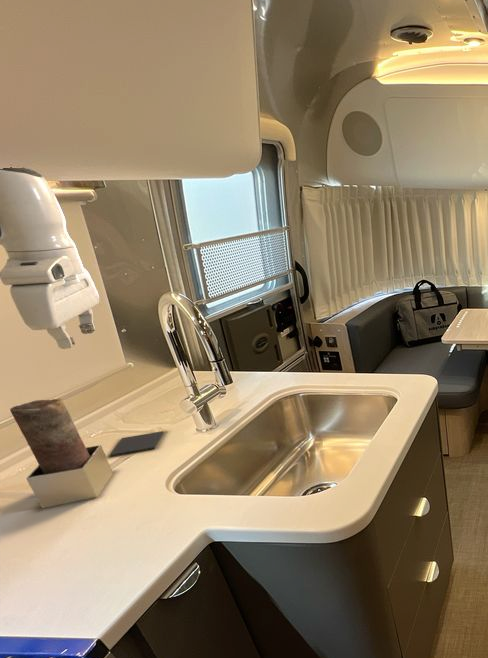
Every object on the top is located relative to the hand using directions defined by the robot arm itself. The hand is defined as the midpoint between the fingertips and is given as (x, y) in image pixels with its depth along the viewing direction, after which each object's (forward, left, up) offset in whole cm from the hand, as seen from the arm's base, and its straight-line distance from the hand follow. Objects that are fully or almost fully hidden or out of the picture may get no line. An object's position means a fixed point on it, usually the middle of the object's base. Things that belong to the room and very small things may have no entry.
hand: (79, 339), depth 91 cm
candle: (-10, -1, -31) cm, 33 cm away
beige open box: (-10, -1, -31) cm, 32 cm away
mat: (-4, +17, -31) cm, 35 cm away
